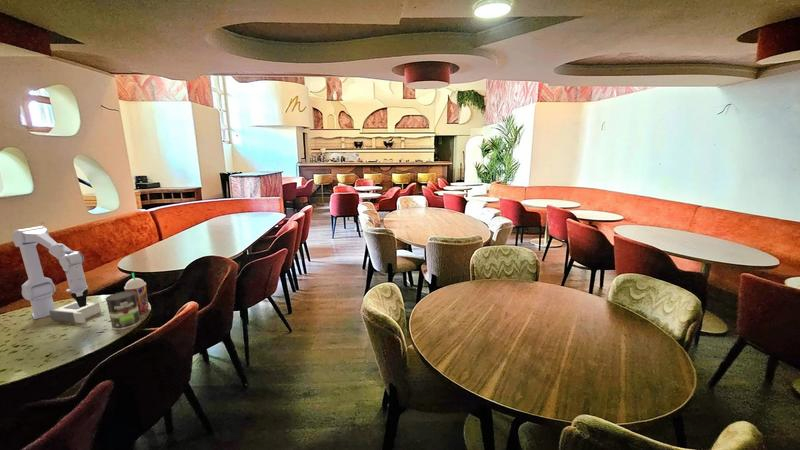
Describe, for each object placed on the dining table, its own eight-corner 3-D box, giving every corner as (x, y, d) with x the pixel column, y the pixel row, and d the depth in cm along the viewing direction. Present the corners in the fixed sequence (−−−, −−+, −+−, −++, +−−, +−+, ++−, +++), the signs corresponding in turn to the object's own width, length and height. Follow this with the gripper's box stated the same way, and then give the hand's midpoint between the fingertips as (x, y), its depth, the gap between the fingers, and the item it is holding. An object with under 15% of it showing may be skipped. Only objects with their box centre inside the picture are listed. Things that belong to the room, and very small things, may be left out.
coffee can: (143, 323, 150) (137, 294, 147) (114, 332, 143) (107, 302, 140) (138, 316, 157) (133, 288, 154) (110, 324, 150) (104, 295, 147)
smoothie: (154, 310, 163) (146, 271, 159) (133, 317, 156) (125, 277, 152) (146, 306, 168) (139, 269, 163) (126, 312, 161) (118, 274, 156)
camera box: (78, 310, 165) (76, 300, 164) (101, 312, 162) (98, 302, 161) (54, 319, 155) (51, 309, 154) (78, 322, 152) (75, 311, 151)
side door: (53, 319, 155) (51, 309, 154) (85, 322, 151) (83, 312, 150) (51, 320, 154) (49, 310, 153) (83, 323, 150) (81, 313, 149)
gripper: (63, 277, 151) (70, 304, 154) (63, 285, 141) (71, 314, 144) (84, 273, 156) (91, 299, 159) (86, 280, 146) (92, 308, 149)
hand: (83, 306), depth 152 cm, fingers closed
